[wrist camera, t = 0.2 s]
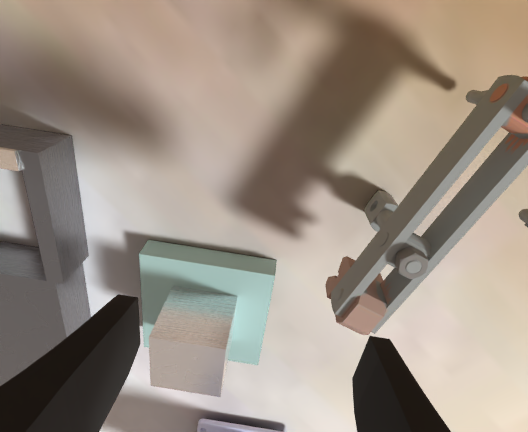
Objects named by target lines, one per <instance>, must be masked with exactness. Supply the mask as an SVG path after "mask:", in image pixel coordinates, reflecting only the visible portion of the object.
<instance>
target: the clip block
mask: <svg viewBox="0 0 528 432" xmlns="http://www.w3.org/2000/svg"><path fill="white" fill-rule="evenodd" d="M237 297H238V296H235V295H229V294H222V293H216V292H210V291H204V290H197V289H191V288H185V287H179V286H172V288H171V291H170V293H169V295H168V297H167V299H166V301H165V303H164V306H163V308H162V310H161V312H160V314H159V316H158V318H157V321H156V323H155V325H154V327H153V329H152V331H151V333H150V336H149V354H150V377H151V386H156V387H162V388H168V389H175V390H181V391H187V392H193V393H199V394H205V395H211V396H217V397H221V392H222V387H223V382H224V377H225V372H226V367H227V363H228V358H229V353H230V348H231V343H232V337H233V329H234V321H235V313H236V305H237Z"/></svg>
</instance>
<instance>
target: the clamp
mask: <svg viewBox="0 0 528 432" xmlns="http://www.w3.org/2000/svg"><path fill="white" fill-rule="evenodd" d="M466 100H467V101H468V102H470V103H474V104H476V105H477V106H476V107H475V108H474V109H473V111H472V112H471V113H470V115H469V116H468V117H467V118H466V120H465V121H464V122H463V124H462V125H461V126H460V127H459V129H458V130H457V131H456V133H455V134H454V135H453V136H452V138H451V139H450V140H449V142H448V143H447V144H446V145H445V147H444V148H443V149H442V151H441V152H440V153H439V154H438V156H437V157H436V158H435V160H434V161H433V162H432V163H431V165H430V166H429V167H428V169H427V170H426V171H425V172H424V174H423V175H422V176H421V177H420V179H419V180H418V181H417V183H416V184H415V185H414V186H413V188H412V189H411V190H410V192H409V193H408V194H407V195H406V197H405V198H404V199H403V201H402V202H401V203H400V204H399V206H398V204H397V203H396V202H395V200H394V199H393V197H392V196H391V195H390V194H389V193H387V192H385V191H377V192H376V193H375V194H374V196H373V197H372V198H371V200H370V201H369V202H368V204H367V205H366V207H365V209H364V211H365V214H366V216H367V218H368V220H369V222H370V225H371V227H372V228H373V229H374V230H375V231H377V232H378V233H377V234H376V235H375V237H374V238H373V239H372V240H371V242H370V243H369V244H368V246H367V247H366V248H365V249H364V251H363V252H362V253H361V255H360V256H359V257H358V258H357V260H356V261H355V260H353V259H351V258H349V257H343V259H342V262H341V265H340V268H339V271H338V273H339V275H338V277H337V276H332V277H328V279H327V282H326V292H327V298H329V299H331V303H332V308H333V311H334V314H335V316H336V322H337V323H339V324H341V325H343V326H345V327H347V328H349V329H351V330H353V331H355V332H357V333H359V334H362V335H368V334H369V333H370V332H372V333H374V334H375V333H376V332H377V331H378V330H379V329H380V327H381V326H382V325H383V324H384V323H385V322H386V321H387V320H388V319H389V318H390V316H391V315H392V314H393V313H394V312H395V311H396V310H397V309H398V308H399V306H400V305H401V304H402V303H403V302H404V301H405V300H406V299H407V298H408V297H409V295H410V294H411V293H412V292H413V291H414V290H415V289H416V288H417V287H418V286H419V284H420V283H421V282H422V281H423V280H424V279H425V278H426V277H427V276H428V275H429V273H430V272H431V271H432V270H433V269H434V268H435V267H436V266H437V265H438V264H439V262H440V261H441V260H442V259H443V258H444V257H445V256H446V255H447V254H448V253H449V251H450V250H451V249H452V248H453V247H454V246H455V245H456V244H457V243H458V242H459V240H460V239H461V238H462V237H463V236H464V235H465V234H466V233H467V232H468V230H469V229H470V228H471V227H472V226H473V225H474V224H475V223H476V222H477V221H478V219H479V218H480V217H481V216H482V215H483V214H484V213H485V212H486V211H487V210H488V208H489V207H490V206H491V205H492V204H493V203H494V202H495V201H496V200H497V199H498V197H499V196H500V195H501V194H502V193H503V192H504V191H505V190H506V189H507V188H508V186H509V185H510V184H511V183H512V182H513V181H514V180H515V179H516V178H517V177H518V175H519V174H520V173H521V172H522V171H523V170H524V169H525V168H526V167H527V166H528V77H519V76H515V75H505V76H501V77H498V79H497V80H496V81H495V82H494V84H493V85H492V86H491V88H490V89H489V90H486V91H482V92H481V91H476V90H471V91H470V92H468V93H467V95H466ZM500 127H502V128H504V129H505V130H507V131H508V132H509V133H508V134H507V136H506V137H505V138H504V139H503V140H502V142H501V143H500V144H499V145H498V146H497V147H496V149H495V150H494V151H493V152H492V153H491V155H490V156H489V157H488V158H487V159H486V160H485V162H484V163H483V164H482V165H481V166H480V168H479V169H478V170H477V171H476V172H475V173H474V175H473V176H472V177H471V178H470V179H469V181H468V182H467V183H466V184H465V185H464V186H463V188H462V189H461V190H460V191H459V192H458V194H457V195H456V196H455V197H454V198H453V199H452V201H451V202H450V203H449V204H448V205H447V207H446V208H445V209H444V210H443V211H442V212H441V214H440V215H439V216H438V217H437V218H436V220H435V221H434V222H433V223H432V224H431V225H430V227H429V228H428V229H427V230H426V231H425V233H424V234H423V235H422V236H421V237H420V236H418V235H416V234H415V233H413V232H414V231H415V230H416V228H417V227H418V226H419V225H420V224H421V222H422V221H423V220H424V219H425V218H426V216H427V215H428V214H429V213H430V212H431V210H432V209H433V208H434V207H435V205H436V204H437V203H438V202H439V201H440V199H441V198H442V197H443V196H444V195H445V193H446V192H447V191H448V190H449V189H450V187H451V186H452V185H453V184H454V183H455V181H456V180H457V179H458V178H459V177H460V175H461V174H462V173H463V172H464V171H465V169H466V168H467V167H468V166H469V164H470V163H471V162H472V161H473V160H474V158H475V157H476V156H477V155H478V154H479V152H480V151H481V150H482V149H483V148H484V146H485V145H486V144H487V143H488V142H489V140H490V139H491V138H492V137H493V136H494V134H495V133H496V132H497V131H498V130H499V128H500ZM519 217H520V219H521V220H522V221H524V222H525V223H526V224H525V226H527V227H528V209H523V210H521V211H520V212H519ZM387 264H389V265H391V266H393V267H395V268H394V269H393V270H392V271H391V273H390V274H389V275H388V276H387V277H386V279H385V280H384V281H383V279H382V276H381V274H380V272H381V271H382V269H383V268H384V267H385V266H386V265H387Z"/></svg>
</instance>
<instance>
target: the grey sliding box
mask: <svg viewBox="0 0 528 432" xmlns="http://www.w3.org/2000/svg"><path fill="white" fill-rule="evenodd" d="M0 168H1V169H8V170H14V171H20V170H22V173H23V177H24V182H25V186H26V191H27V195H28V200H29V204H30V209H31V213H32V217H33V222H34V226H35V231H36V235H37V240H38V244H39V247H33V246H26V245H20V244H14V243H8V242H2V241H0V386H1V385H3V384H4V383H6V382H7V381H8V380H10V379H11V378H13V377H14V376H16V375H17V374H19V373H20V372H21V371H23V370H24V369H26V368H27V367H28V366H30V365H31V364H32V363H34V362H35V361H36V360H38V359H39V358H40V357H42V356H43V355H45V354H46V353H47V352H49V351H50V350H51V349H53V348H54V347H55V346H56V345H58V344H59V343H60V342H61V341H63V340H64V339H65V338H66V337H68V336H69V335H70V334H71V333H73V332H74V331H75V330H76V329H78V328H79V327H80V326H81V325H82V324H84V323H85V322H86V321H87V320H88V319H90V318H91V315H90V309H89V303H88V296H87V290H86V283H85V277H84V270H83V264H82V263H83V261H84V260H85V259H86V258H87V257H88V256H89V255H88V248H87V240H86V233H85V226H84V219H83V212H82V205H81V198H80V191H79V184H78V177H77V170H76V163H75V156H74V149H73V142H72V136H71V135H65V134H58V133H52V132H46V131H39V130H33V129H27V128H20V127H14V126H8V125H1V124H0Z"/></svg>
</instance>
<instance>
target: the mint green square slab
mask: <svg viewBox="0 0 528 432" xmlns="http://www.w3.org/2000/svg"><path fill="white" fill-rule="evenodd" d="M139 261H140V280H141V299H142V317H143V336H144V347H149V336H150V333H151V331H152V329H153V327H154V325H155V323H156V321H157V318H158V316H159V314H160V312H161V310H162V308H163V306H164V303H165V301H166V299H167V297H168V295H169V293H170V291H171V288H172V286H179V287H185V288H191V289H197V290H204V291H210V292H216V293H222V294H229V295H235V296H238V297H237V305H236V313H235V321H234V329H233V337H232V343H231V348H230V353H229V358H228V360H229V361H235V362H241V363H247V364H254V365H258V363H259V357H260V352H261V347H262V342H263V336H264V331H265V326H266V321H267V315H268V310H269V305H270V300H271V294H272V289H273V284H274V279H275V271H276V260H272V259H265V258H259V257H253V256H247V255H241V254H234V253H228V252H222V251H216V250H209V249H203V248H197V247H191V246H184V245H178V244H172V243H166V242H159V241H153V240H148V241H147V243H146V244H145V246H144V247H143V249H142V250H141V252H140V253H139Z"/></svg>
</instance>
